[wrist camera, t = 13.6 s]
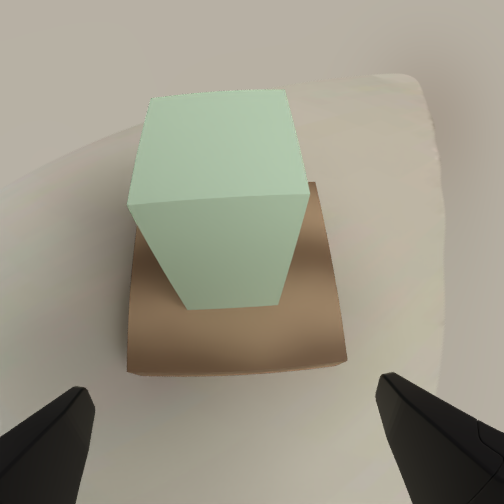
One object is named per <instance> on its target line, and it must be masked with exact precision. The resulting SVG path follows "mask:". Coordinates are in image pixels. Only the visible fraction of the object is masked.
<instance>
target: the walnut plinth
mask: <svg viewBox="0 0 504 504" xmlns="http://www.w3.org/2000/svg"><path fill="white" fill-rule="evenodd" d="M308 186H309V191H310V197H309V200H308V204H307V208H306V211H305V215H304V218H303V222H302V225H301V229H300V233H299V236H298V240H297V243H296V246H295V250H294V253H293V257H292V260H291V264H290V267H289V270H288V274H287V277H286V280H285V284H284V287H283V290H282V294H281V297H280V300H279V303H278V305H272V306H258V307H242V308H224V309H203V310H187V309H186V307H185V305H184V304H183V302H182V301H181V299H180V297H179V296H178V294H177V292H176V291H175V289H174V288H173V286H172V284H171V283H170V281H169V279H168V278H167V276H166V274H165V273H164V271H163V269H162V268H161V266H160V264H159V262H158V261H157V259H156V257H155V256H154V254H153V252H152V250H151V249H150V247H149V245H148V243H147V242H146V240H145V238H144V236H143V234H142V233H141V231H140V229H139V227H138V225H137V229H136V237H135V245H134V254H133V264H132V275H131V287H130V300H129V317H128V342H127V372H129V373H133V374H137V375H140V376H175V377H187V376H228V375H248V374H263V373H275V372H287V371H297V370H306V369H314V368H323V367H330V366H336V365H338V364H341V363H343V362H345V361H347V354H346V346H345V339H344V332H343V325H342V318H341V312H340V306H339V299H338V293H337V287H336V282H335V276H334V270H333V265H332V260H331V254H330V249H329V244H328V239H327V234H326V229H325V224H324V219H323V215H322V210H321V206H320V201H319V197H318V192H317V188H316V184H315V182H308Z"/></svg>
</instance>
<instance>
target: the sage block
mask: <svg viewBox="0 0 504 504" xmlns="http://www.w3.org/2000/svg"><path fill="white" fill-rule="evenodd" d="M309 197H310V191H309V186H308V181H307V177H306V173H305V168H304V164H303V160H302V155H301V151H300V147H299V143H298V139H297V135H296V131H295V127H294V123H293V119H292V115H291V111H290V108H289V104H288V100H287V96H286V93H285V90H235V91H217V92H204V93H193V94H183V95H174V96H166V97H158V98H151V100H150V103H149V107H148V111H147V115H146V118H145V122H144V126H143V130H142V134H141V138H140V142H139V147H138V151H137V156H136V160H135V165H134V170H133V174H132V179H131V185H130V190H129V195H128V201H127V207H128V209H129V211H130V213H131V214H132V216H133V218H134V220H135V222H136V224H137V225H138V227H139V229H140V231H141V233H142V234H143V236H144V238H145V240H146V242H147V243H148V245H149V247H150V249H151V250H152V252H153V254H154V256H155V257H156V259H157V261H158V262H159V264H160V266H161V268H162V269H163V271H164V273H165V274H166V276H167V278H168V279H169V281H170V283H171V284H172V286H173V288H174V289H175V291H176V292H177V294H178V296H179V297H180V299H181V301H182V302H183V304H184V305H185V307H186V309H187V310H203V309H224V308H242V307H258V306H272V305H278V303H279V300H280V297H281V294H282V290H283V287H284V284H285V280H286V277H287V274H288V270H289V267H290V264H291V260H292V257H293V253H294V250H295V246H296V243H297V240H298V236H299V233H300V229H301V225H302V222H303V218H304V215H305V211H306V208H307V204H308V200H309Z"/></svg>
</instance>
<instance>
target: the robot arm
mask: <svg viewBox="0 0 504 504" xmlns="http://www.w3.org/2000/svg"><path fill="white" fill-rule="evenodd" d="M375 397H376V402H377V406H378V409H379V413H380V416H381V420H382V423H383V427H384V430H385V434H386V437H387V440H388V443H389V445H390V448H391V450H392V453H393V455H394V458H395V460H396V462H397V465H398V467H399V470H400V472H401V475H402V478H403V480H404V483H405V485H406V488H407V490H408V493H409V496H410V498H411V501H412V503H413V504H504V433H503V432H501V431H499V430H496V429H495V428H493V427H491V426H489V425H487V424H485V423H483V422H481V421H479V420H477V419H475V418H474V417H472V416H470V415H468V414H466V413H465V412H463V411H461V410H459V409H457V408H456V407H454V406H452V405H450V404H449V403H447V402H445V401H443V400H441V399H439V398H438V397H436V396H434V395H433V394H431V393H429V392H427V391H426V390H424V389H422V388H420V387H419V386H417V385H415V384H413V383H412V382H410V381H408V380H406V379H405V378H403V377H401V376H400V375H398V374H396V373H394V372H391V373H386V374H382V375H381V376H380V379H379V383H378V386H377V390H376V395H375ZM94 416H95V406H94V404H93V401H92V399H91V397H90V395H89V392H88V390H87V389H86V388H84V387H78V386H74V387H72V388H71V389H69V390H68V391H66V392H65V393H63V394H62V395H61V396H59V397H58V398H56V399H55V400H53V401H52V402H50V403H49V404H48V405H46V406H45V407H43V408H42V409H40V410H39V411H37V412H36V413H34V414H33V415H32V416H30V417H29V418H27V419H26V420H24V421H23V422H21V423H20V424H18V425H17V426H16V427H14V428H13V429H11V430H10V431H8V432H7V433H5V434H4V435H2V436H1V437H0V504H75V503H76V499H77V494H78V490H79V486H80V482H81V478H82V474H83V470H84V466H85V462H86V459H87V455H88V451H89V445H90V439H91V433H92V427H93V421H94Z"/></svg>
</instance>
